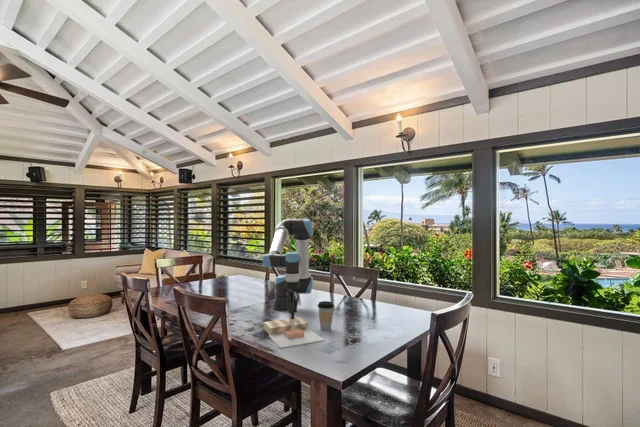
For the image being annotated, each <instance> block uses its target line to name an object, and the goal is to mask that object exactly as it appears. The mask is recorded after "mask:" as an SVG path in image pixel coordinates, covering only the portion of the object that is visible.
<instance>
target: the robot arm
mask: <svg viewBox="0 0 640 427" xmlns="http://www.w3.org/2000/svg"><path fill="white" fill-rule="evenodd" d="M288 236H291V237H293V239H294V240H295V243H296V244H295V247H296V249H295V250H296V251H293V252H292V251H288V252H286V253H285V254H283V249H284V247H285V244H286V243H285V242H286V239H287V238H288ZM312 236H314V231H313V223H312V220H311V219H309V218H286V219H283V220H282V221H280V222H279V223H278V224H277V225H276V226H275V228H274V236H273V239H272V242H271V246H270V248H269V251H268V253H265V254H263V256H262V265H263V267H265V268H285V274H281V275H278V276H276V278H275V283H274V284H275V297H274V301H273V303H272V309H273V310H275V311H279V312H280V311H281V312H287V311H288V319H289V325H295V318H296V316H295V314H296V313H297V312H298V304H299V303H298V302H299V298H300V296H299V295H298V294H300V295H302V294H303V295H307V294H308V295H309V294H311V293H312V291H313V290H312V289H313V283H314V277H312V274H311V273H310V266H309V265H310V262H309V261H310V259H309V257H310V255H309V254H310V253H309V252H310V250H309V248H310V247H309V241H310V240H311V239H312Z"/></svg>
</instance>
